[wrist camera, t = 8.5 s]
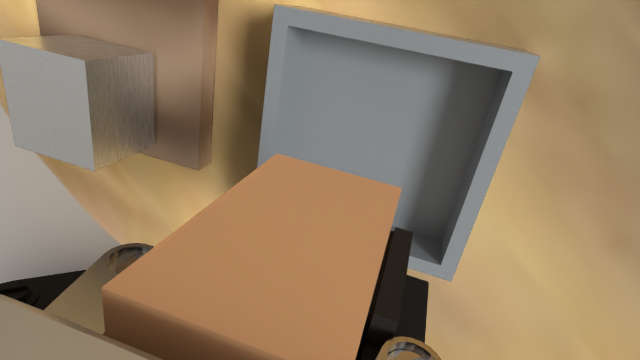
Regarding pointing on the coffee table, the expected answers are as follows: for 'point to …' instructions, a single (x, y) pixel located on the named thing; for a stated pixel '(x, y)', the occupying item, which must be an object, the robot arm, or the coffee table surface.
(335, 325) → the light orange block
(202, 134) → the slide board
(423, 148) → the tray
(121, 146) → the grey cube block
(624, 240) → the coffee table surface
